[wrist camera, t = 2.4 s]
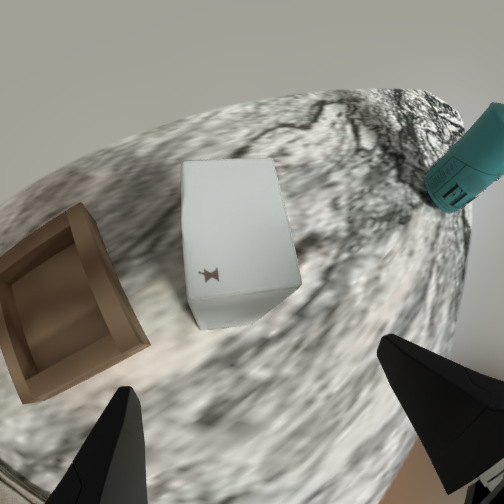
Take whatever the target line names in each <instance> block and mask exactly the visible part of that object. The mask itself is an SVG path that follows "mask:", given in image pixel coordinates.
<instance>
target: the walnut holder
mask: <svg viewBox="0 0 504 504" xmlns="http://www.w3.org/2000/svg"><path fill="white" fill-rule="evenodd" d="M150 345H151V344H150V342H149V340H148V338H147V337H146V335H145V333H144V331H143V329H142V327H141V325H140V323H139V321H138V319H137V318H136V316H135V314H134V312H133V310H132V308H131V305H130V303H129V301H128V299H127V297H126V295H125V293H124V291H123V289H122V286H121V284H120V282H119V280H118V277H117V275H116V273H115V271H114V268H113V266H112V264H111V261H110V259H109V256H108V254H107V251H106V249H105V246H104V244H103V241H102V238H101V236H100V233H99V230H98V228H97V225H96V222H95V220H94V219H93V218H92V216H91V215H90V214H89V212H88V211H87V210H86V208H85V207H84V205H83V204H82V203H81V202H80V203H78V204H77V205H75V206H73V207H72V208H70V209H68V210H67V211H65V212H64V213H62V214H60V215H59V216H57V217H56V218H54V219H53V220H51V221H49V222H48V223H46V224H45V225H43V226H42V227H41V228H39V229H38V230H36V231H35V232H33V233H32V234H30V235H29V236H28V237H26V238H25V239H23V240H22V241H21V242H19V243H18V244H17V245H15V246H14V247H13V248H11V249H10V250H9V251H7V252H6V253H5V254H4V255H2V256H1V257H0V346H1V350H2V353H3V356H4V359H5V362H6V365H7V367H8V370H9V373H10V376H11V378H12V381H13V383H14V386H15V388H16V390H17V393H18V395H19V397H20V400H21V402H22V404H29V403H34V402H40V401H45V400H47V399H49V398H51V397H53V396H55V395H57V394H59V393H61V392H63V391H65V390H67V389H69V388H71V387H73V386H75V385H77V384H79V383H81V382H83V381H85V380H87V379H89V378H91V377H92V376H94V375H96V374H98V373H100V372H102V371H104V370H106V369H108V368H110V367H112V366H113V365H115V364H117V363H119V362H121V361H123V360H125V359H126V358H128V357H130V356H132V355H134V354H136V353H138V352H139V351H141V350H143V349H145V348H147V347H149V346H150Z"/></svg>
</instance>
